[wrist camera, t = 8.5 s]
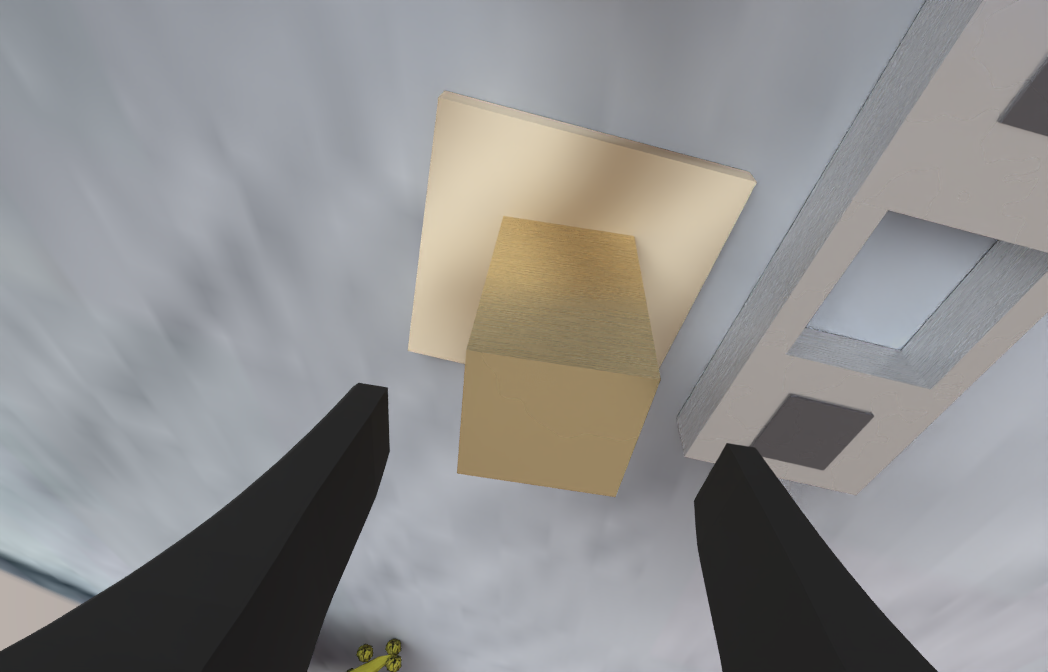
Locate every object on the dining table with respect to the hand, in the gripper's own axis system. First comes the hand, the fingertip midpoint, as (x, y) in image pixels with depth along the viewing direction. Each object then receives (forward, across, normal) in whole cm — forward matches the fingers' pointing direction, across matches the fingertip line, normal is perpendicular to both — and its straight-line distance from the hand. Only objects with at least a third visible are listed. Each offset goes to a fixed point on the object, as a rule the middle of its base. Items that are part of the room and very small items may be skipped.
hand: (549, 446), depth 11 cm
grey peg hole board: (+8, -10, -2) cm, 13 cm away
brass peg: (+7, 0, 0) cm, 7 cm away
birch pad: (+8, 0, 0) cm, 8 cm away
